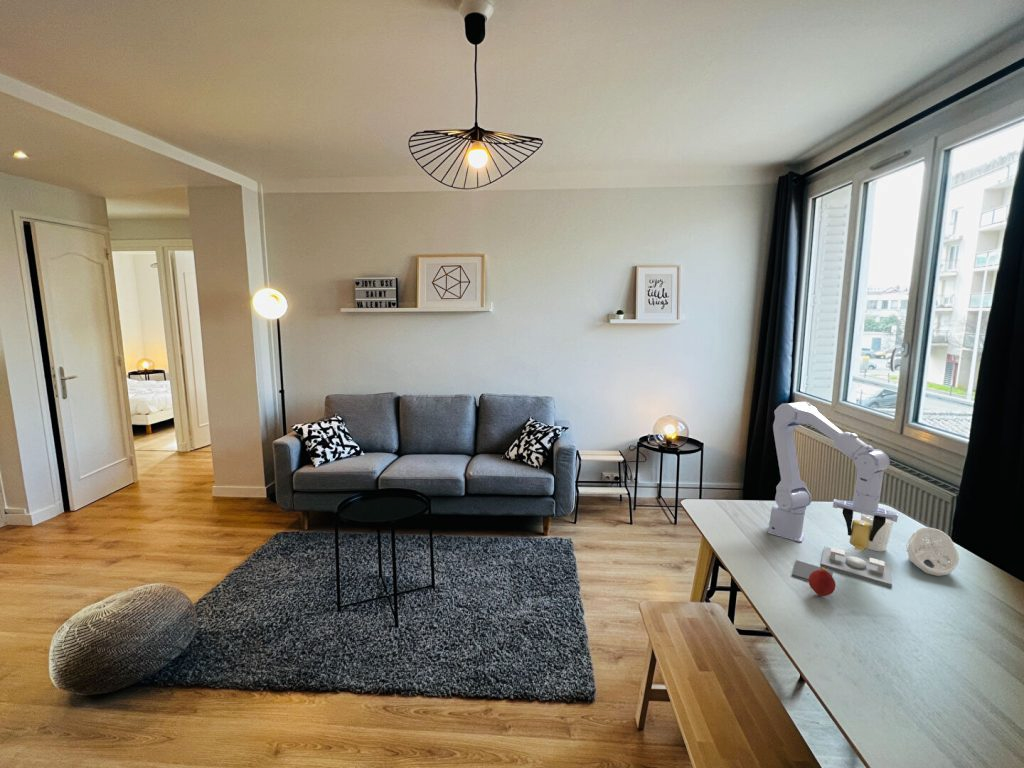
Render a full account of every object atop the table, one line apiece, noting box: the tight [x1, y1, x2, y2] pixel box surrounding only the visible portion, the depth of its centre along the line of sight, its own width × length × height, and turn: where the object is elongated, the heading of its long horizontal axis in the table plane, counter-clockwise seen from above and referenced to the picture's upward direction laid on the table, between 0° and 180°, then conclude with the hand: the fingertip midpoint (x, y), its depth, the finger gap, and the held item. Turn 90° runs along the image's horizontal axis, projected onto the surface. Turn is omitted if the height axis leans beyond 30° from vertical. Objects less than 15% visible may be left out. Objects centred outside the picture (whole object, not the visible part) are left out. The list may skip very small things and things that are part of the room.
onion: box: [807, 566, 837, 597], centre depth 120 cm, size 6×6×8 cm
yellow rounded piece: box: [849, 519, 872, 552], centre depth 132 cm, size 8×4×7 cm, turn 144°
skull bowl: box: [905, 526, 960, 577], centre depth 135 cm, size 10×14×12 cm
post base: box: [820, 546, 893, 588], centre depth 134 cm, size 16×12×4 cm
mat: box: [791, 559, 834, 582], centre depth 130 cm, size 9×9×1 cm
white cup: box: [860, 513, 894, 552], centre depth 145 cm, size 8×8×10 cm
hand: (859, 536), depth 132 cm, fingers closed on yellow rounded piece, 4 cm apart
